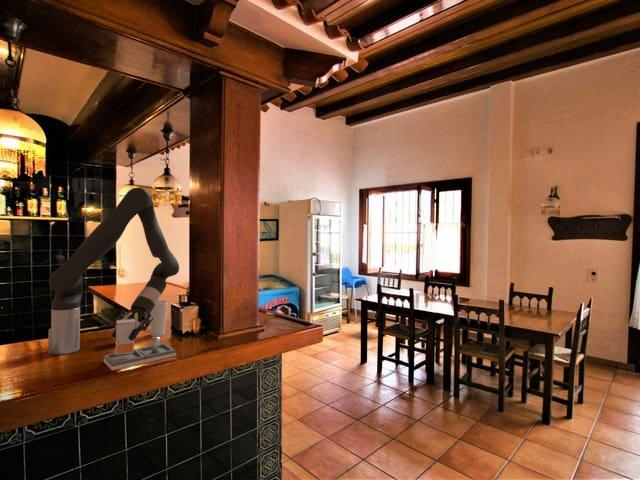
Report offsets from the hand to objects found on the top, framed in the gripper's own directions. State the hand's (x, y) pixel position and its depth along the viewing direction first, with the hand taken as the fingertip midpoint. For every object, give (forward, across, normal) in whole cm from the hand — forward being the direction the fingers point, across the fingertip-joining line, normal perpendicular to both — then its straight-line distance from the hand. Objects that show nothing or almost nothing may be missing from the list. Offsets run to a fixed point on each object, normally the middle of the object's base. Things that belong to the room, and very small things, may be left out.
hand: (121, 338), depth 126 cm
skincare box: (+3, 0, +5) cm, 6 cm away
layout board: (+2, +3, +11) cm, 12 cm away
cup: (-17, -14, +31) cm, 38 cm away
